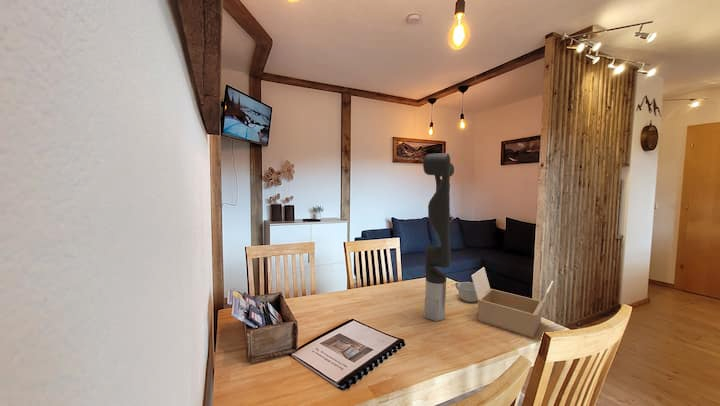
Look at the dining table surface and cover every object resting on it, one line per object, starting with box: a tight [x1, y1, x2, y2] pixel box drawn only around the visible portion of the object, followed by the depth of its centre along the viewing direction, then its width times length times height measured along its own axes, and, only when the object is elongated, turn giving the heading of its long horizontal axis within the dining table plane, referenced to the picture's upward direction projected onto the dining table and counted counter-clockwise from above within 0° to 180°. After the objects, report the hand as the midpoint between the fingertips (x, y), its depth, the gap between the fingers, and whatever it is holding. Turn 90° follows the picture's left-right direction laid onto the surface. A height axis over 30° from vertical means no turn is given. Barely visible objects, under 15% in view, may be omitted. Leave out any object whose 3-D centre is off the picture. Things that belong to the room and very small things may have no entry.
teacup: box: [454, 281, 479, 303], centre depth 156 cm, size 14×11×8 cm
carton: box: [477, 288, 543, 340], centre depth 131 cm, size 18×22×10 cm
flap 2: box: [536, 280, 554, 315], centre depth 122 cm, size 17×11×1 cm
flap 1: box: [470, 266, 491, 300], centre depth 139 cm, size 17×11×1 cm
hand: (441, 232), depth 157 cm, fingers closed
